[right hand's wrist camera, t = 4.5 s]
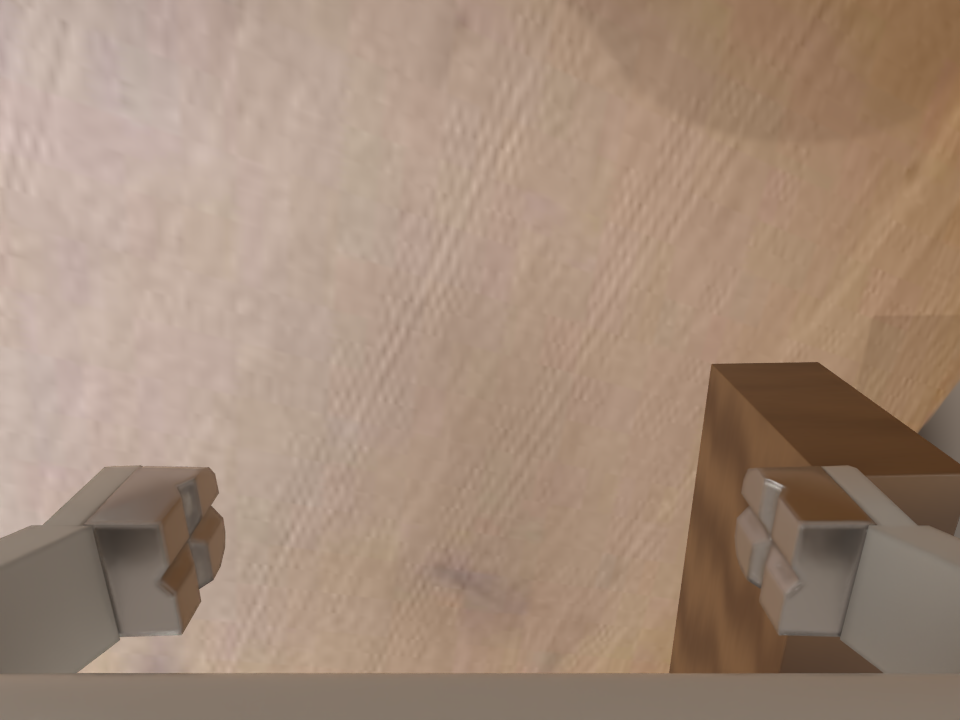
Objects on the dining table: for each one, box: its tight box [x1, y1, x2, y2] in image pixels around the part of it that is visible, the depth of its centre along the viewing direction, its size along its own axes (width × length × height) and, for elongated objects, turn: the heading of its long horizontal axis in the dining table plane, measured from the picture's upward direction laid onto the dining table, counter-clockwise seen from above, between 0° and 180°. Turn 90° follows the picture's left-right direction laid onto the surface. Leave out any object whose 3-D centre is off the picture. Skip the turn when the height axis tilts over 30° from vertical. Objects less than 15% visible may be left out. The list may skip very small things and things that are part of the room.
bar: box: [669, 362, 960, 673], centre depth 29 cm, size 26×5×9 cm, turn 0°
